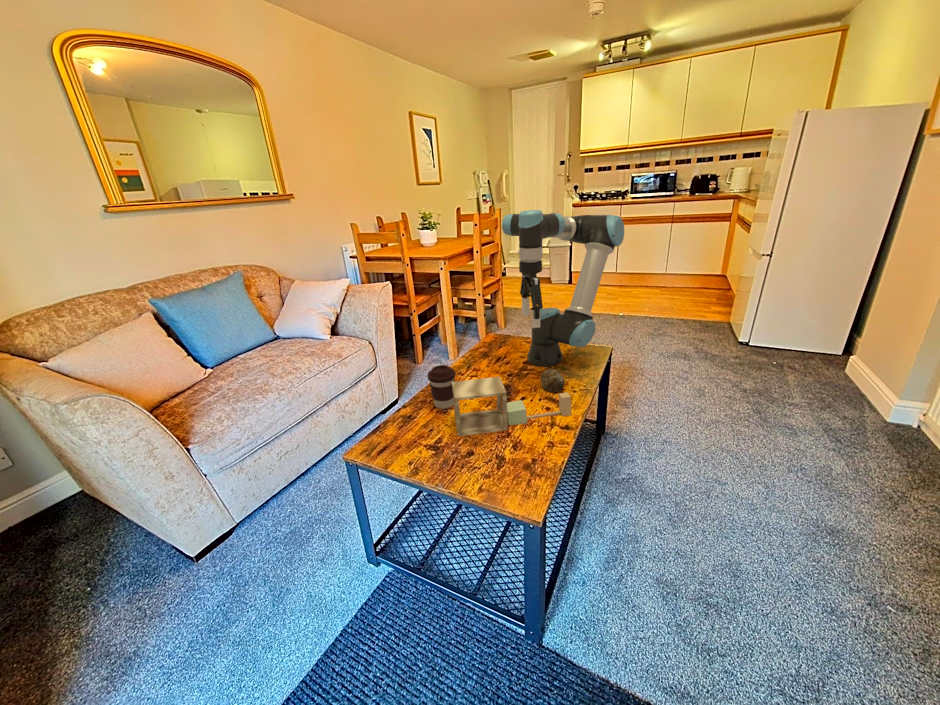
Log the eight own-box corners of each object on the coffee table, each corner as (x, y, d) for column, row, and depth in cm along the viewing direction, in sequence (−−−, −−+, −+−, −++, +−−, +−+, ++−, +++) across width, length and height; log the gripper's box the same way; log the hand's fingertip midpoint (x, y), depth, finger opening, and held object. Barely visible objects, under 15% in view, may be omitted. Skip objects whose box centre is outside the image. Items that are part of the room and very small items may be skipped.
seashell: (559, 397, 145) (560, 378, 142) (535, 392, 150) (535, 373, 146) (569, 384, 153) (570, 366, 150) (547, 380, 158) (547, 362, 155)
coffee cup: (437, 415, 138) (433, 377, 133) (427, 403, 147) (422, 367, 141) (462, 407, 142) (459, 370, 137) (451, 396, 151) (447, 360, 145)
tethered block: (566, 410, 136) (566, 390, 133) (572, 419, 131) (572, 398, 128) (505, 420, 135) (503, 400, 132) (509, 430, 129) (507, 409, 126)
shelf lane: (500, 414, 137) (499, 376, 131) (507, 432, 127) (506, 392, 121) (455, 420, 135) (451, 381, 129) (458, 438, 125) (454, 398, 119)
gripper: (511, 255, 141) (512, 311, 149) (529, 268, 118) (529, 334, 126) (531, 253, 141) (531, 309, 150) (553, 266, 119) (552, 331, 127)
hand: (530, 321), depth 138 cm, fingers open, 13 cm apart
